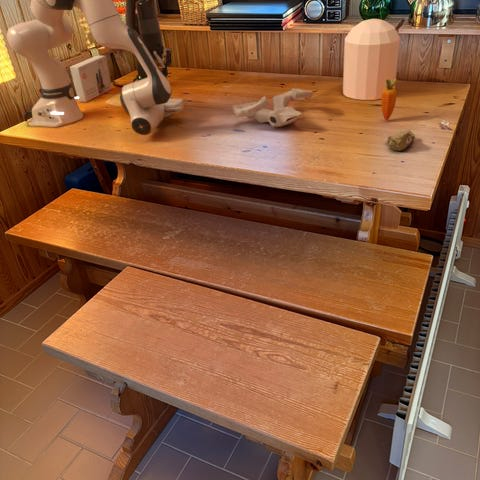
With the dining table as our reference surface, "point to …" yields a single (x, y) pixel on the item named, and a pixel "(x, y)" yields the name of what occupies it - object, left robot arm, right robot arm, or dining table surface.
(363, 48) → the container
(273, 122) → the animal horns
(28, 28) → the left robot arm
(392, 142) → the rock
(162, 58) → the right robot arm
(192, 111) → the dining table surface
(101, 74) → the skincare box
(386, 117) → the carrot
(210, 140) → the dining table surface
